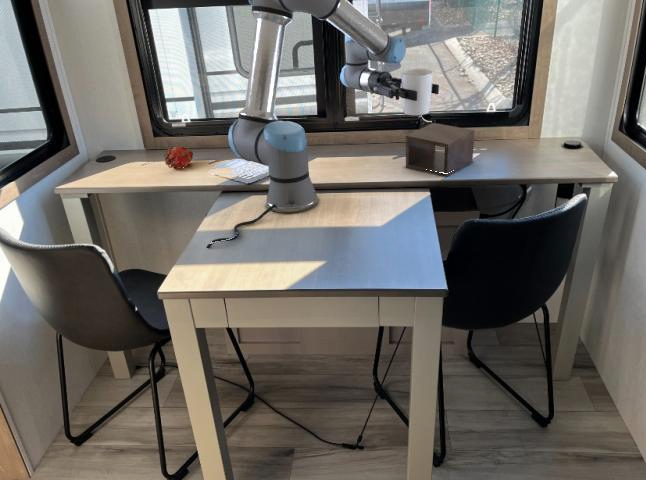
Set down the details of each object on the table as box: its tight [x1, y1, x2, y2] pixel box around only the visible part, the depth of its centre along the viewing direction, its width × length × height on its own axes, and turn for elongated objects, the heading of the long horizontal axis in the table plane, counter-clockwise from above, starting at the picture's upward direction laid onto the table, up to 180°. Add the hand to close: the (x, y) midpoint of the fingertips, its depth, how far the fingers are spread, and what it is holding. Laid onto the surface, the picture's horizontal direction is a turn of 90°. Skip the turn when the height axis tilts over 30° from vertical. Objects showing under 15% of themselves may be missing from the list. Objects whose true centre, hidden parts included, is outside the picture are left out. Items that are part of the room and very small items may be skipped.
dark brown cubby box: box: [405, 122, 476, 178], centre depth 195 cm, size 16×16×11 cm
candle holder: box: [400, 68, 434, 116], centre depth 184 cm, size 10×10×12 cm
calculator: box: [209, 158, 270, 181], centre depth 202 cm, size 13×20×2 cm, turn 51°
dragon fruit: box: [164, 144, 194, 170], centre depth 209 cm, size 8×8×12 cm
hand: (427, 92), depth 180 cm, fingers closed on candle holder, 9 cm apart
